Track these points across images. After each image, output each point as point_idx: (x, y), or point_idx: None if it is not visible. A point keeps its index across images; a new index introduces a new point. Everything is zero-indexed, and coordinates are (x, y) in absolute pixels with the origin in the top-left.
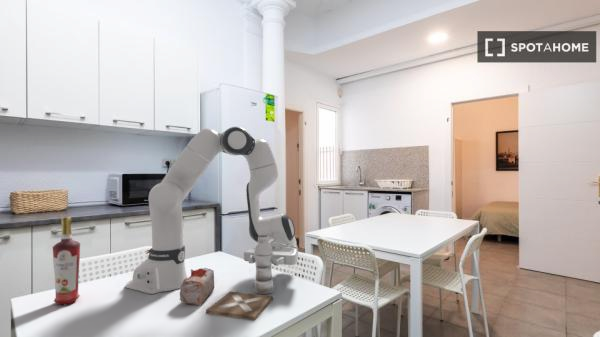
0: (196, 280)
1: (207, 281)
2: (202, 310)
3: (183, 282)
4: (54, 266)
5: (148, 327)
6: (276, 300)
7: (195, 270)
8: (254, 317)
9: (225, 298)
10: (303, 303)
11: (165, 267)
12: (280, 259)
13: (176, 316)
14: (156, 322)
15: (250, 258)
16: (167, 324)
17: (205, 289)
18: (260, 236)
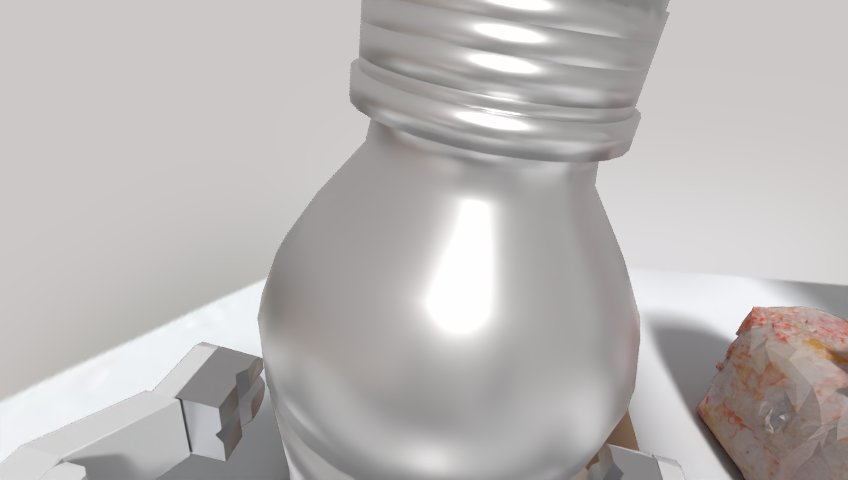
0: (790, 315)
1: (795, 401)
2: (638, 366)
3: None
4: None
5: (699, 285)
6: (267, 466)
7: None
8: None
9: (609, 442)
10: (81, 417)
11: None
12: (125, 403)
13: (691, 331)
14: (710, 304)
15: (652, 459)
16: (664, 293)
17: (743, 394)
18: (639, 25)
